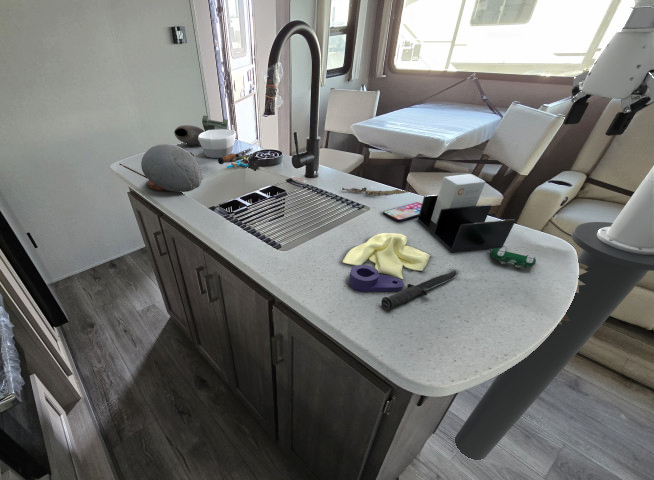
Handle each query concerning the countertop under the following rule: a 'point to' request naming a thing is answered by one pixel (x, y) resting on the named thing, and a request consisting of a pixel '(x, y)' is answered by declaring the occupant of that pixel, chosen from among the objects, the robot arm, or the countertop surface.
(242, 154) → the dinosaur
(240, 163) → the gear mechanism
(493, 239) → the rack
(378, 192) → the wooden twig
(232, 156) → the knife
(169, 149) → the gray stone
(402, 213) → the smartphone
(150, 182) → the incense holder
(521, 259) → the gaming controller
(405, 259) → the cloth
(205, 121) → the toy tank
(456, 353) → the countertop surface
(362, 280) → the lever
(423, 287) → the knife
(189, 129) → the planter
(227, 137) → the bowl
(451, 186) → the small box
